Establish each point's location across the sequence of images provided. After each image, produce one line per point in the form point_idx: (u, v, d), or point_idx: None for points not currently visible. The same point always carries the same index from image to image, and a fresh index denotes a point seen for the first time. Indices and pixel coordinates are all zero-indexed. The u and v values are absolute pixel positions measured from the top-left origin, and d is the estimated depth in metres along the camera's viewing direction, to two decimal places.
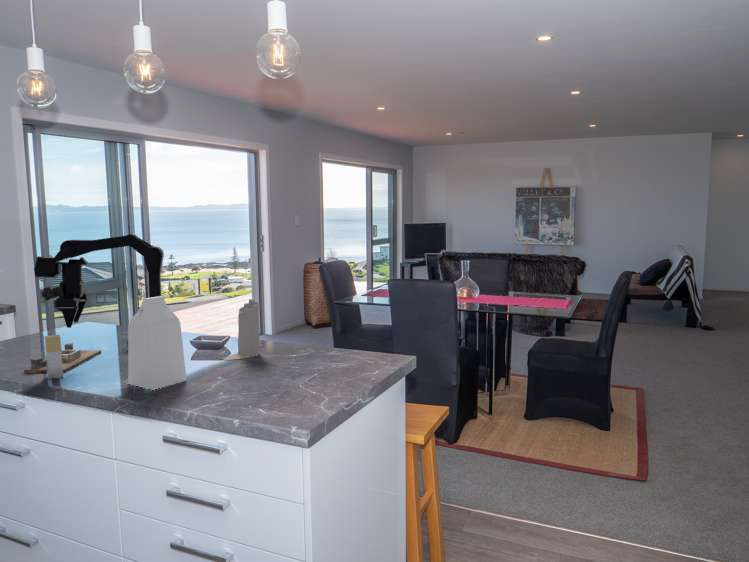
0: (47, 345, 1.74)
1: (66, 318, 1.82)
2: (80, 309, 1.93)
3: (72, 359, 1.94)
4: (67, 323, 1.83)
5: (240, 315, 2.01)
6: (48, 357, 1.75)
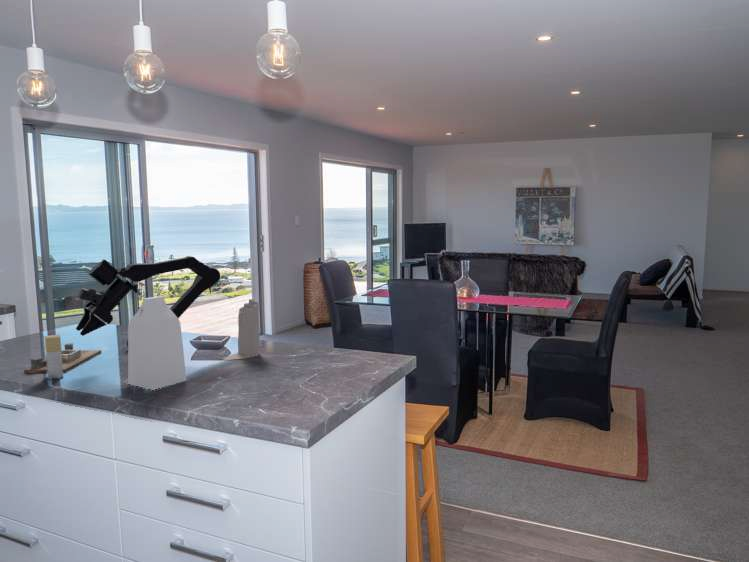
0: (47, 345, 1.74)
1: (88, 326, 1.77)
2: None
3: (72, 359, 1.94)
4: (84, 330, 1.77)
5: (240, 315, 2.01)
6: (48, 357, 1.75)
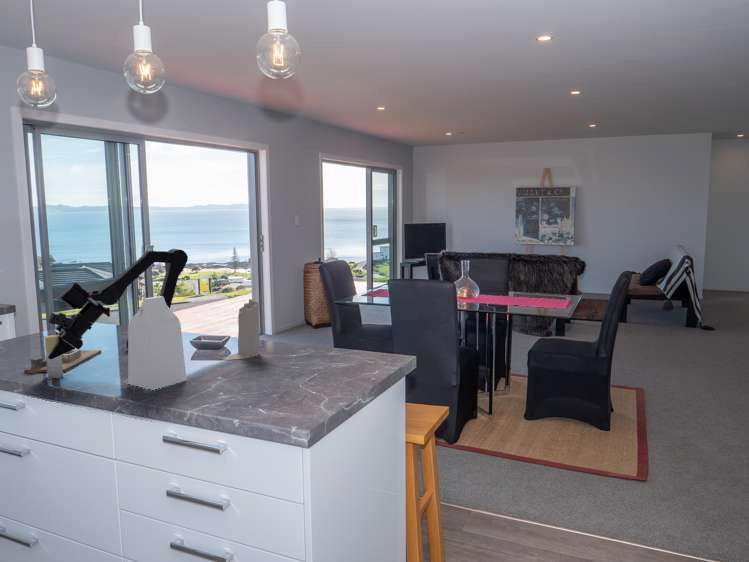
0: (47, 345, 1.74)
1: (56, 350, 1.75)
2: None
3: (72, 359, 1.94)
4: (52, 354, 1.75)
5: (240, 315, 2.01)
6: None
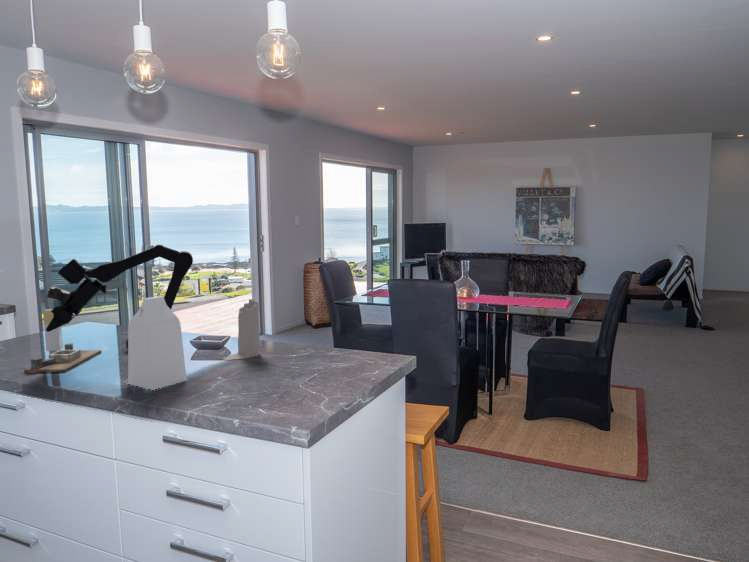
0: (45, 318, 1.82)
1: (52, 323, 1.82)
2: None
3: (72, 359, 1.94)
4: (48, 327, 1.82)
5: (240, 315, 2.01)
6: None
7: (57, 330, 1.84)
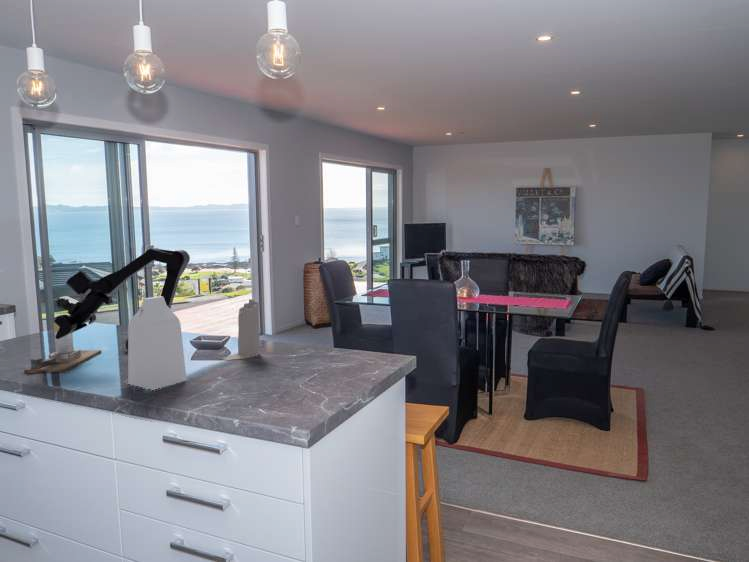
0: (55, 326, 1.92)
1: (60, 331, 1.91)
2: (74, 329, 1.97)
3: (72, 359, 1.94)
4: (57, 334, 1.92)
5: (240, 315, 2.01)
6: None
7: (65, 338, 1.93)
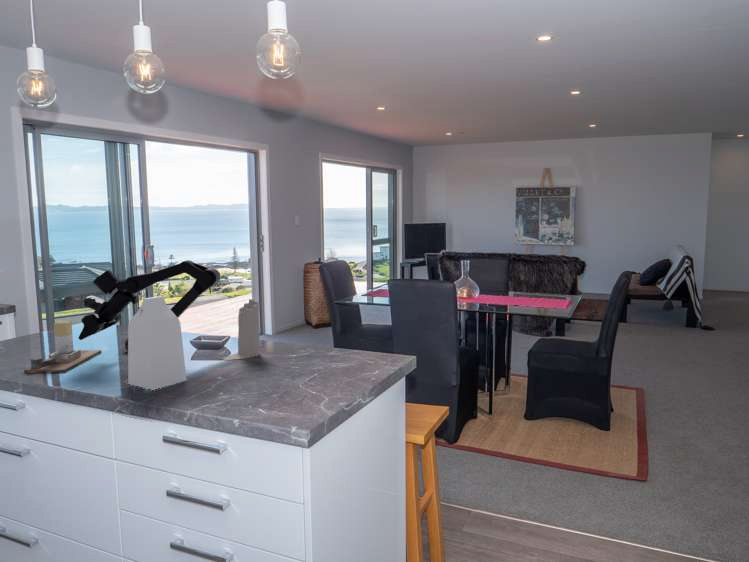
0: (55, 330, 1.93)
1: (83, 332, 1.89)
2: (103, 327, 2.00)
3: (72, 359, 1.94)
4: (80, 335, 1.90)
5: (240, 315, 2.01)
6: (56, 340, 1.93)
7: (65, 342, 1.93)
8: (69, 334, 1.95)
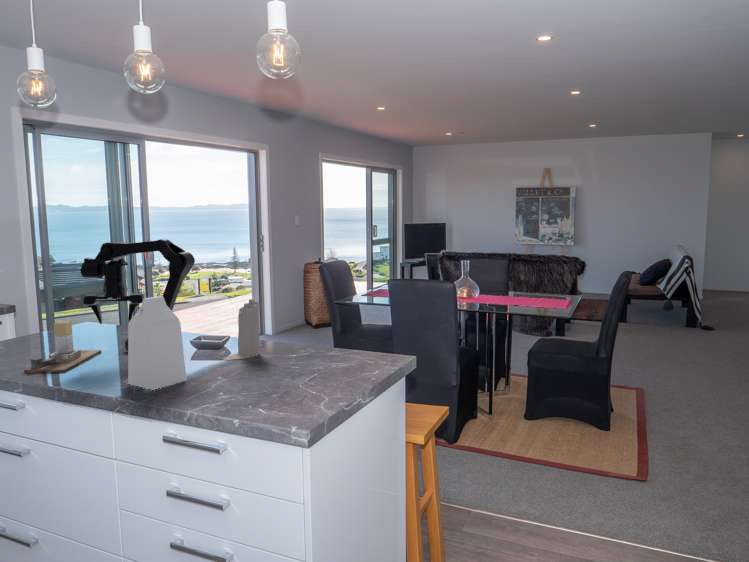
0: (55, 330, 1.93)
1: None
2: None
3: (72, 359, 1.94)
4: None
5: (240, 315, 2.01)
6: (56, 340, 1.93)
7: (65, 342, 1.93)
8: (69, 334, 1.95)
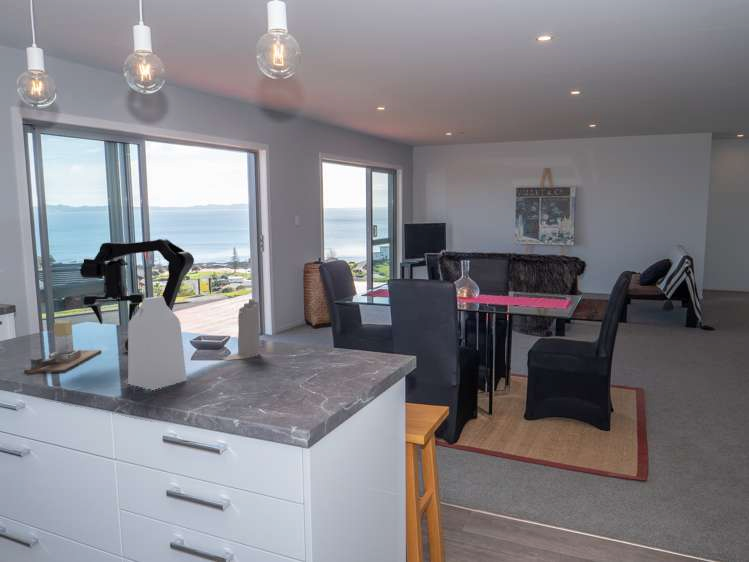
0: (55, 330, 1.93)
1: None
2: None
3: (72, 359, 1.94)
4: None
5: (240, 315, 2.01)
6: (56, 340, 1.93)
7: (65, 342, 1.93)
8: (69, 334, 1.95)
